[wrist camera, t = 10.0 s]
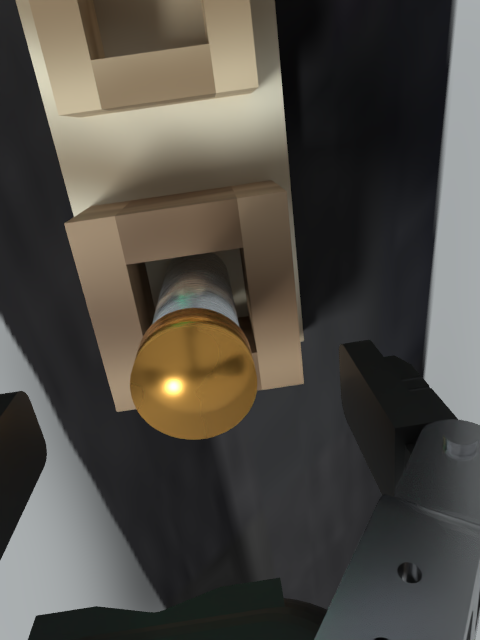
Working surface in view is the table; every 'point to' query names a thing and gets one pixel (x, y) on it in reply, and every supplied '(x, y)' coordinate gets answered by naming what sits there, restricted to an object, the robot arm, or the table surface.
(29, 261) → the table surface
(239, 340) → the lock pin
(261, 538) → the table surface
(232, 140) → the dock board
